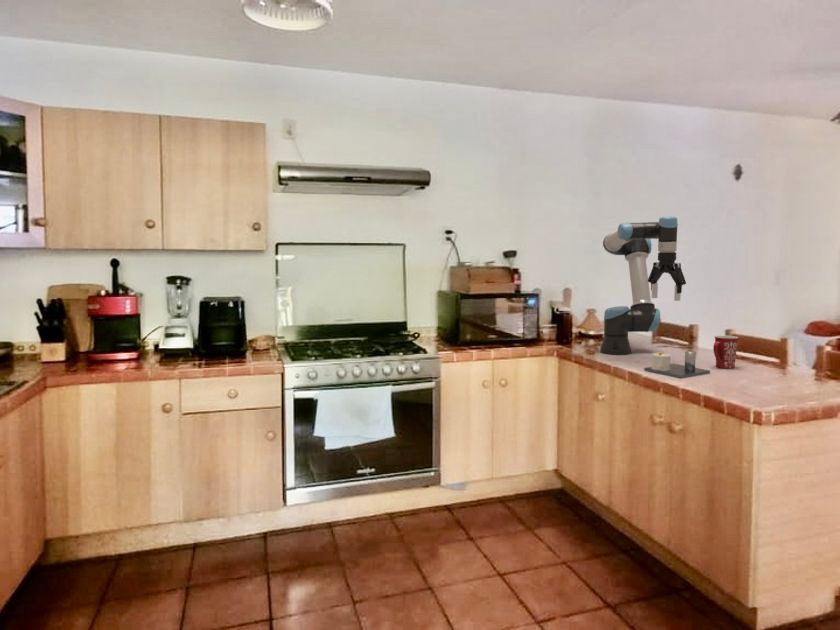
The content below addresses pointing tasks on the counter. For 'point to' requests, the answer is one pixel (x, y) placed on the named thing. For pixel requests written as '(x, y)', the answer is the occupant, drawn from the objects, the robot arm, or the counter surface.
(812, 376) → the counter surface
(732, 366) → the mug
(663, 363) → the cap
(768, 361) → the counter surface
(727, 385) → the counter surface
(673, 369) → the post base
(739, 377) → the counter surface
